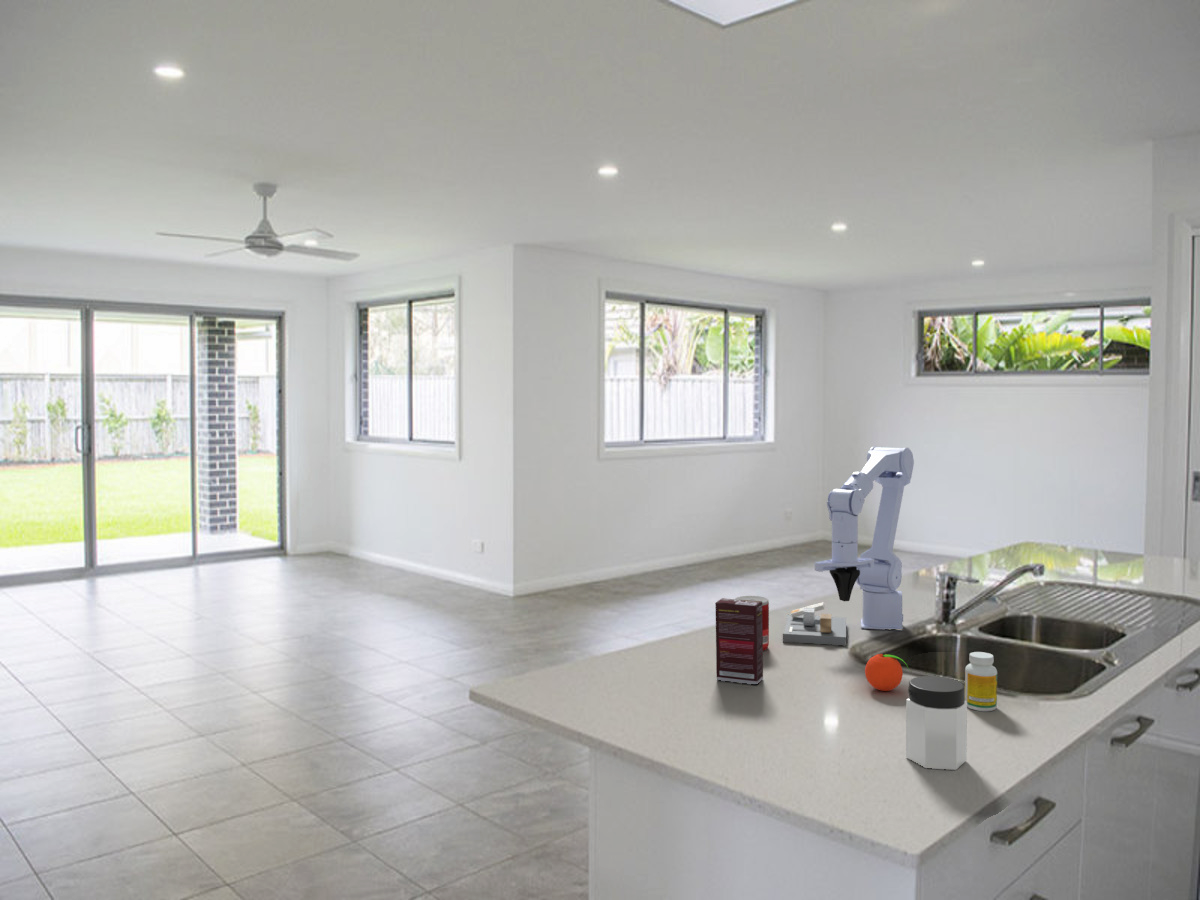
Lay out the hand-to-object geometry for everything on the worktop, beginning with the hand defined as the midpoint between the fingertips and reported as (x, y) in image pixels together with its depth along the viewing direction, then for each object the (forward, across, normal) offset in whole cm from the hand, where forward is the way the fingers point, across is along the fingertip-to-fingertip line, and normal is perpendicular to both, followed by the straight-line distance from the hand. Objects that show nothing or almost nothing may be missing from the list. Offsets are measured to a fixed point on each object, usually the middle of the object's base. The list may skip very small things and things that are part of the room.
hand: (844, 600), depth 210 cm
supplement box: (+10, +36, +18) cm, 41 cm away
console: (+9, +3, -8) cm, 13 cm away
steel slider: (+7, +4, -9) cm, 12 cm away
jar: (+10, +25, +64) cm, 69 cm away
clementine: (+10, +12, +33) cm, 37 cm away
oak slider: (+7, +4, -2) cm, 8 cm away
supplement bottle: (+10, +2, +47) cm, 48 cm away
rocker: (+5, +1, -14) cm, 15 cm away
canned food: (+10, +22, -2) cm, 25 cm away
